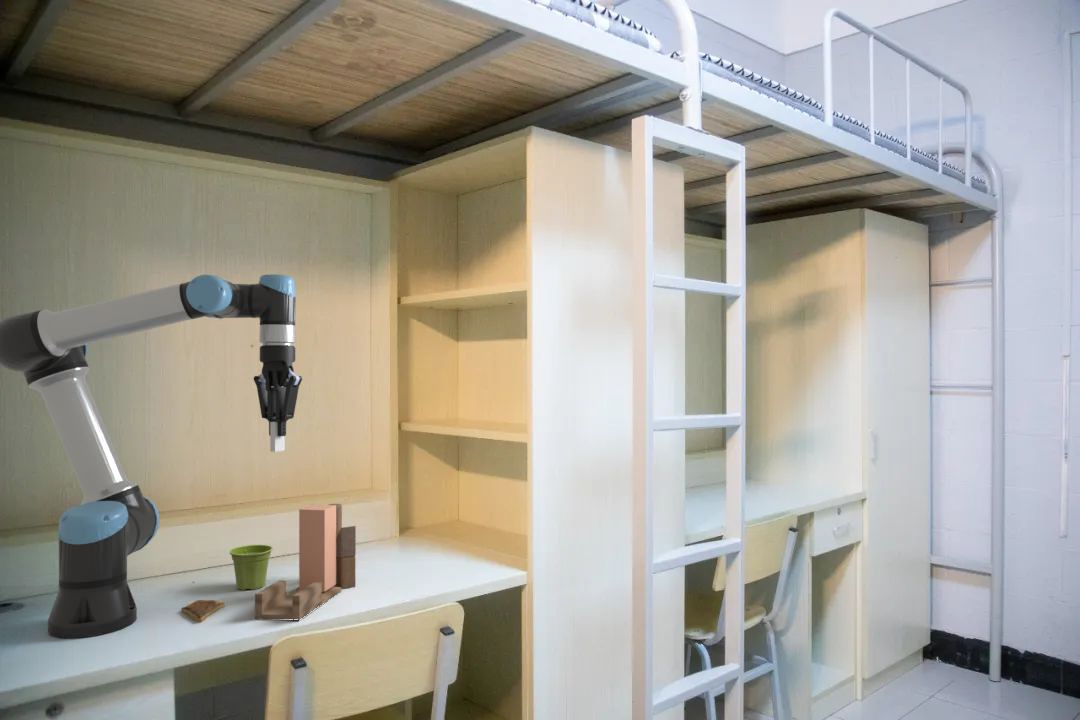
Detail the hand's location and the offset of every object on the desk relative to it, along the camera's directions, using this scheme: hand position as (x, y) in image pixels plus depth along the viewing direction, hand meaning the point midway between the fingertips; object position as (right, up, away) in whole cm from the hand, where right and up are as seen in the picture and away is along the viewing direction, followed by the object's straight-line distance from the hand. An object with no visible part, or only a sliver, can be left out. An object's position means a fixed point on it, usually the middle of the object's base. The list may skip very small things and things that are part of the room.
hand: (277, 450), depth 166 cm
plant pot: (-9, -33, +8) cm, 35 cm away
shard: (-11, -33, -10) cm, 36 cm away
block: (+8, -31, +3) cm, 32 cm away
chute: (+7, -32, -5) cm, 33 cm away
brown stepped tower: (+11, -33, +11) cm, 36 cm away
